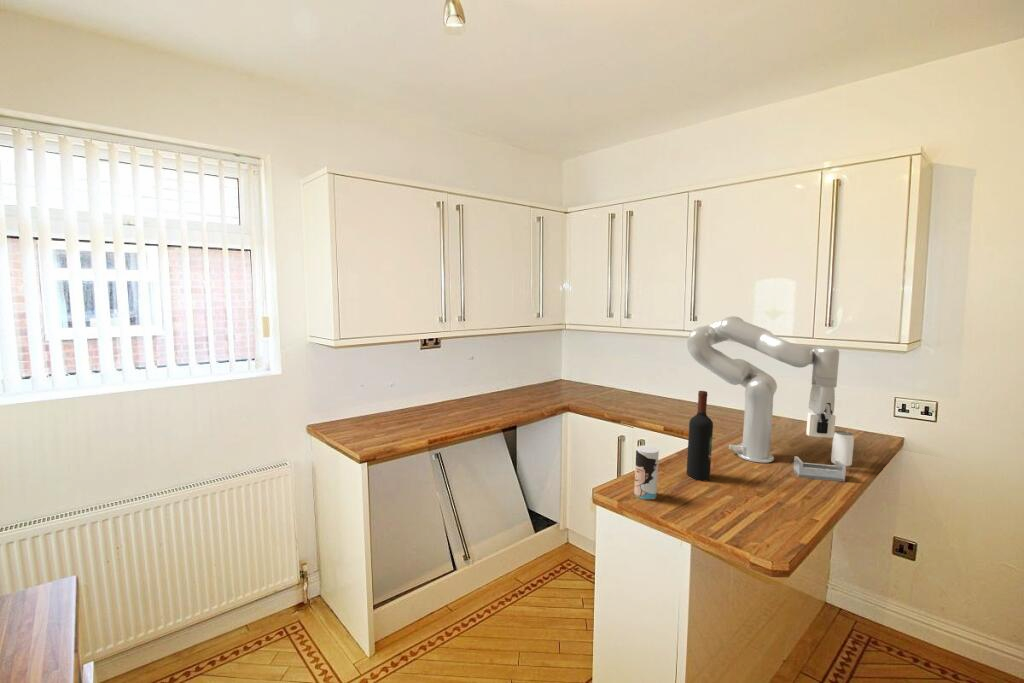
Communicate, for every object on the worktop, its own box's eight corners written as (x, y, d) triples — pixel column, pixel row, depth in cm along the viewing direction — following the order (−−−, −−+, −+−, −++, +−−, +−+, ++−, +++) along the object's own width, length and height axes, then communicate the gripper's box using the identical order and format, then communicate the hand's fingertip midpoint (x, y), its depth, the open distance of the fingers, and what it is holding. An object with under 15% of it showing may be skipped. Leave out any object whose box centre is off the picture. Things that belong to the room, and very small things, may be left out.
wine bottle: (683, 472, 169) (688, 389, 166) (705, 472, 169) (710, 389, 166) (690, 480, 162) (695, 393, 158) (713, 481, 162) (718, 394, 158)
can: (831, 459, 184) (834, 429, 183) (852, 463, 180) (855, 432, 179) (829, 464, 179) (832, 433, 178) (850, 468, 175) (853, 436, 174)
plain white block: (808, 436, 172) (810, 414, 171) (806, 434, 175) (807, 412, 174) (833, 437, 170) (835, 415, 170) (830, 435, 173) (832, 414, 172)
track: (798, 477, 166) (799, 462, 165) (793, 470, 172) (794, 456, 171) (844, 481, 163) (846, 466, 162) (837, 475, 168) (838, 460, 168)
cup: (640, 489, 154) (642, 444, 153) (659, 495, 150) (662, 448, 148) (630, 495, 149) (632, 449, 148) (650, 502, 145) (652, 454, 143)
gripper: (803, 377, 179) (800, 425, 181) (821, 385, 163) (817, 437, 165) (826, 378, 177) (822, 426, 179) (846, 386, 162) (841, 439, 164)
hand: (820, 431), depth 172 cm, fingers closed on plain white block, 2 cm apart
